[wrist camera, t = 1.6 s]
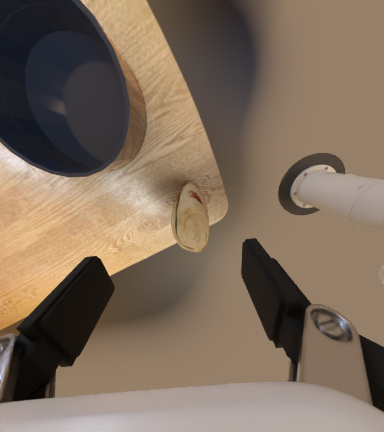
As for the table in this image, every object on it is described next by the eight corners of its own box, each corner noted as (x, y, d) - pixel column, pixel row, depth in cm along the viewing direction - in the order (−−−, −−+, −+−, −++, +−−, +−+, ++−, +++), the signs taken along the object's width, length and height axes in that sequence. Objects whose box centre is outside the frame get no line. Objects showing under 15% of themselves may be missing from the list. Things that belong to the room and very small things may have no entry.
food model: (203, 210, 40) (215, 258, 22) (180, 212, 40) (174, 262, 22) (200, 176, 36) (213, 200, 18) (175, 178, 36) (162, 205, 18)
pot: (108, 1, 24) (58, -93, 14) (163, 152, 34) (154, 152, 24) (-7, 59, 26) (-110, 10, 17) (76, 182, 36) (39, 193, 27)
